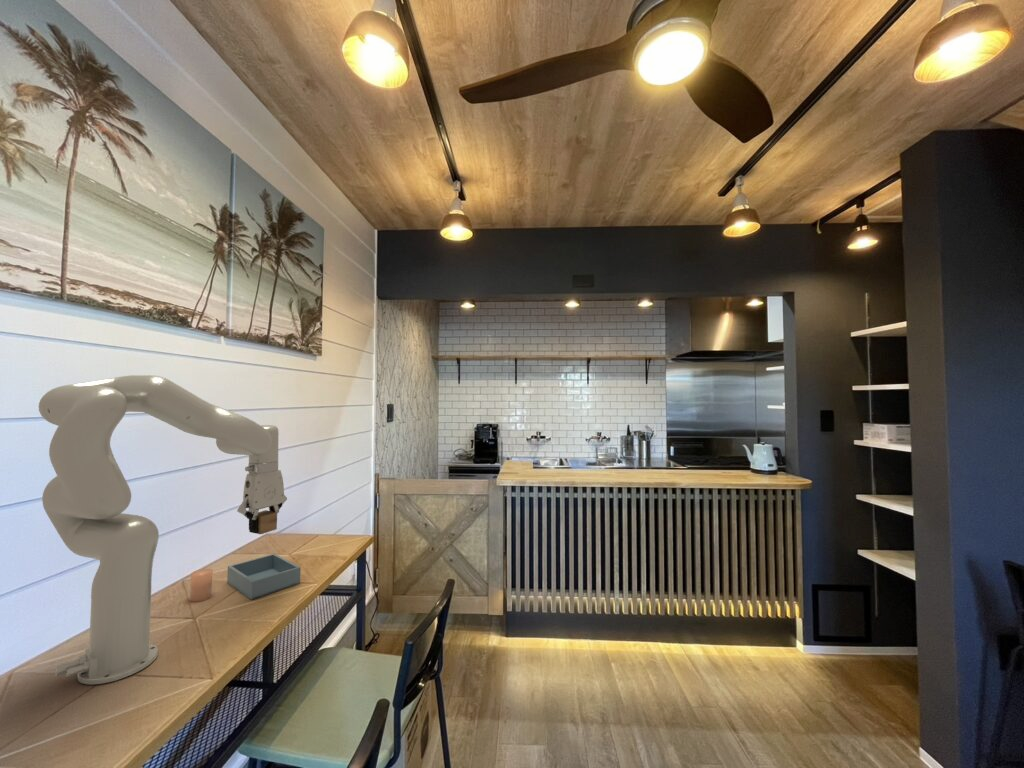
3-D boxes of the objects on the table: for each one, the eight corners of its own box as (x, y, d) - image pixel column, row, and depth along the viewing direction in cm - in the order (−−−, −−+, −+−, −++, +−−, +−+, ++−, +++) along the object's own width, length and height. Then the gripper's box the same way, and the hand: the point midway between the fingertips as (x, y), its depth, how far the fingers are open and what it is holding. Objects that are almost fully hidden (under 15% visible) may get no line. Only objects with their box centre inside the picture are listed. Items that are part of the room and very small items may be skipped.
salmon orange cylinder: (192, 603, 117) (193, 578, 117) (187, 597, 120) (188, 572, 120) (213, 597, 121) (214, 572, 121) (208, 591, 124) (209, 567, 124)
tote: (251, 600, 119) (252, 582, 119) (227, 582, 130) (227, 566, 130) (300, 583, 130) (300, 567, 130) (274, 568, 141) (274, 553, 141)
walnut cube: (249, 531, 124) (249, 514, 124) (265, 526, 128) (265, 510, 128) (260, 534, 122) (260, 517, 122) (276, 529, 126) (276, 512, 126)
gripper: (243, 474, 116) (242, 541, 116) (297, 463, 131) (297, 522, 131) (225, 471, 119) (225, 536, 119) (281, 461, 134) (280, 519, 134)
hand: (263, 528), depth 125 cm, fingers closed on walnut cube, 4 cm apart
